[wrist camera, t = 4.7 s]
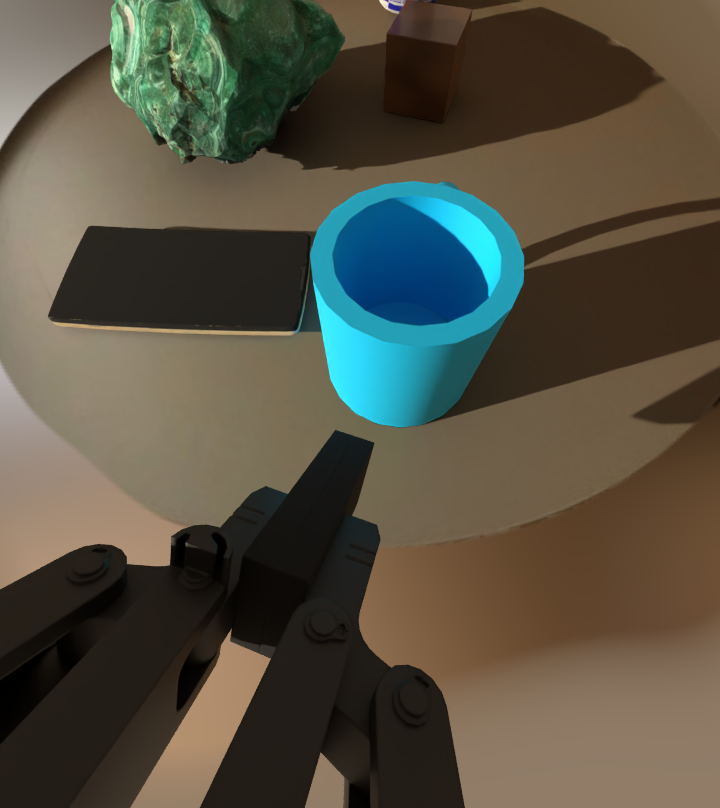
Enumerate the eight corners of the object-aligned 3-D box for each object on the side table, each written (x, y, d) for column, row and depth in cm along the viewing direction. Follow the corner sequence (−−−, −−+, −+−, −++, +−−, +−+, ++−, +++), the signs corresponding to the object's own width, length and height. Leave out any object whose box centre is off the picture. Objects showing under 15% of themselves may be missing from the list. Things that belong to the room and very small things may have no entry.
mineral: (173, 56, 35) (104, -128, 26) (346, 51, 35) (339, -134, 26) (131, 199, 28) (15, 15, 18) (350, 193, 28) (342, 6, 18)
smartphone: (84, 224, 25) (313, 231, 24) (95, 238, 26) (315, 245, 25) (41, 318, 22) (299, 329, 21) (56, 329, 23) (302, 340, 23)
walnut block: (457, 88, 32) (472, 8, 28) (442, 123, 31) (456, 45, 26) (400, 77, 33) (406, -2, 28) (383, 111, 31) (386, 33, 27)
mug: (450, 447, 20) (501, 376, 12) (306, 400, 21) (274, 309, 14) (496, 277, 24) (555, 148, 17) (375, 245, 26) (380, 112, 18)
